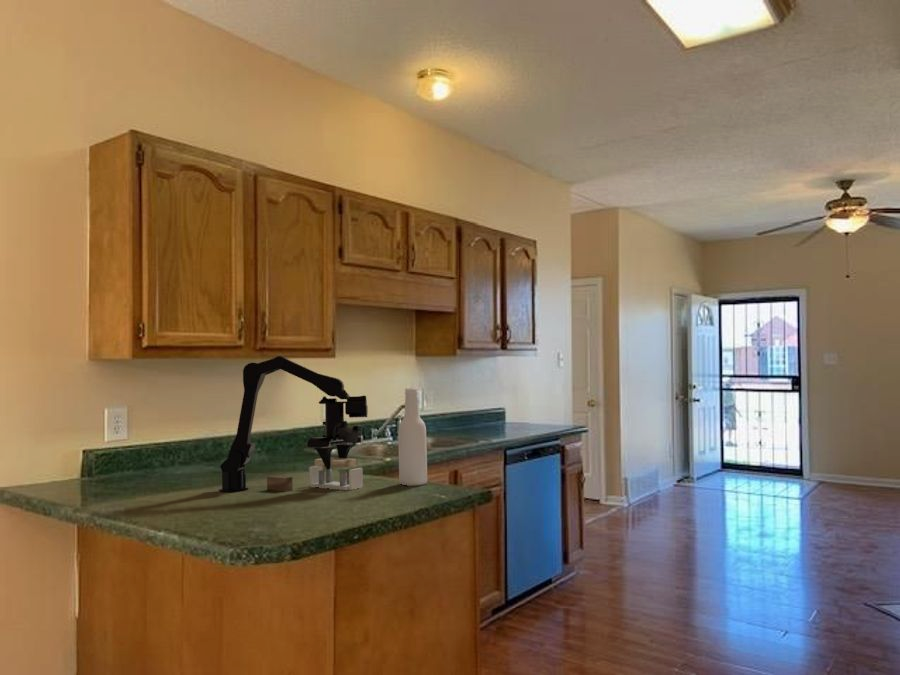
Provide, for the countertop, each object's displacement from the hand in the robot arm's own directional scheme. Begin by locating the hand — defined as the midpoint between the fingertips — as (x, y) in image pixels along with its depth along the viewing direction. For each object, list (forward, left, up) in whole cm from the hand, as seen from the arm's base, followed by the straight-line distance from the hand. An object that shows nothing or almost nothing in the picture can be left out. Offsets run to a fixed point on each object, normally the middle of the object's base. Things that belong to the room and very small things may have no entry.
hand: (335, 468), depth 216 cm
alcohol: (+15, -19, -6) cm, 25 cm away
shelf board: (0, 0, +1) cm, 1 cm away
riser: (-12, +12, -6) cm, 18 cm away
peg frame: (0, 0, -6) cm, 6 cm away
